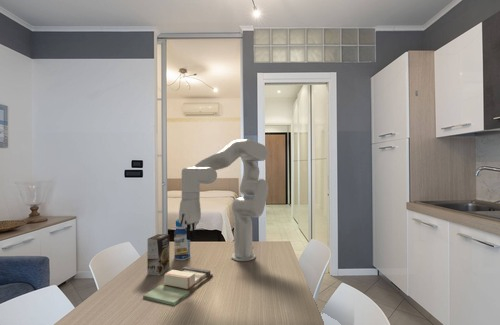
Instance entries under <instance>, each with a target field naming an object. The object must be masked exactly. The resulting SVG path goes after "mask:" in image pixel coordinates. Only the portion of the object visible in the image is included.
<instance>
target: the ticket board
mask: <svg viewBox="0 0 500 325" xmlns="http://www.w3.org/2000/svg"><path fill="white" fill-rule="evenodd" d="M182 271H183V272H189V273H195V284H194V285H192V286H191V287H190V288H188V289H185V288H180V287H175V286H170V285H165V284H164V282H162V283H161V284H160V285H158V286H156V287H155V288H153V289H152V290H150V291H148V292H146V293H145V294H143V295H142V298H143V299H145V300H149V301H153V302H157V303H162V304H167V305H171V306H177V304H179V303H180V302H181V301H183V300H184V299H185V298H186V297H188V296H189V295H190V294H192V293H193V292H194V291H195V290H196V289H198V288H199V287H201V286H202V285H203V284H204V283H206V282H207V281H209V280H210V279H211V278H212V277H213V275H214V274H212V273H211V270H209V269H204V268H198V267H192V266H184V267H182Z"/></svg>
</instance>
